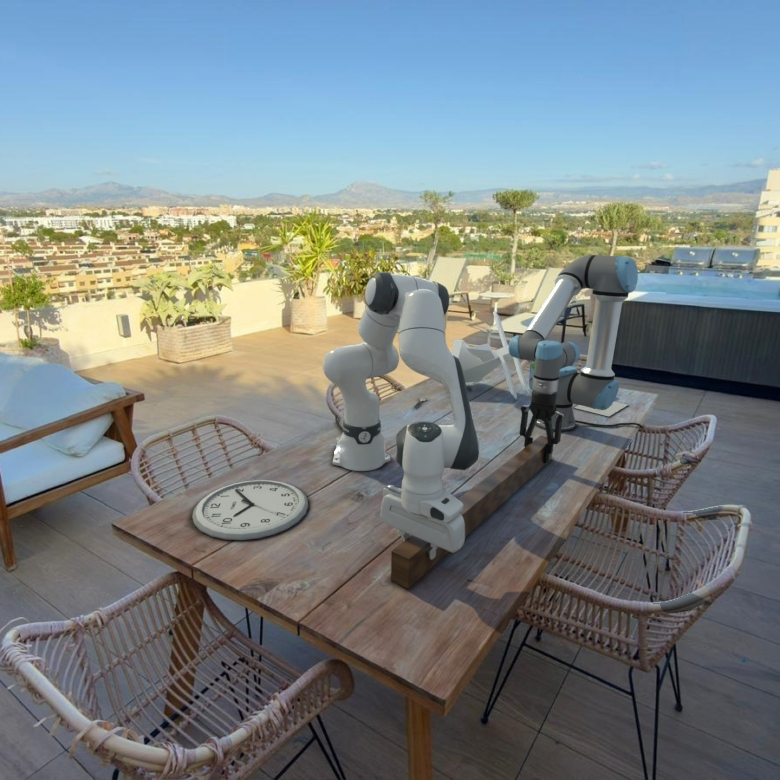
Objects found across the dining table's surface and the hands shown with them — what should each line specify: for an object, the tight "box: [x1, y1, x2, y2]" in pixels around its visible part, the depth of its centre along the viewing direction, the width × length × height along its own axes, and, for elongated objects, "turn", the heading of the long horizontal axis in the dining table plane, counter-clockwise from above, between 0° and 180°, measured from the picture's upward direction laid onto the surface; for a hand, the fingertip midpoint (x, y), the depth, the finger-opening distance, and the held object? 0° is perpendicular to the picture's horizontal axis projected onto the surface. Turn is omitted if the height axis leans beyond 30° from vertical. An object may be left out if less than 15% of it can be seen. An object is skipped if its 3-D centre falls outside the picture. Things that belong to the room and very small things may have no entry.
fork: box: [414, 393, 428, 409], centre depth 226 cm, size 3×16×2 cm, turn 160°
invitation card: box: [573, 401, 629, 418], centre depth 226 cm, size 21×1×15 cm
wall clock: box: [191, 479, 309, 541], centre depth 140 cm, size 30×2×30 cm
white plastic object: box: [450, 310, 531, 400], centre depth 245 cm, size 37×45×31 cm
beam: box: [390, 435, 553, 590], centre depth 142 cm, size 83×5×7 cm, turn 143°
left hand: (419, 552), depth 116 cm, fingers open, 4 cm apart
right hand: (537, 459), depth 169 cm, fingers open, 5 cm apart
